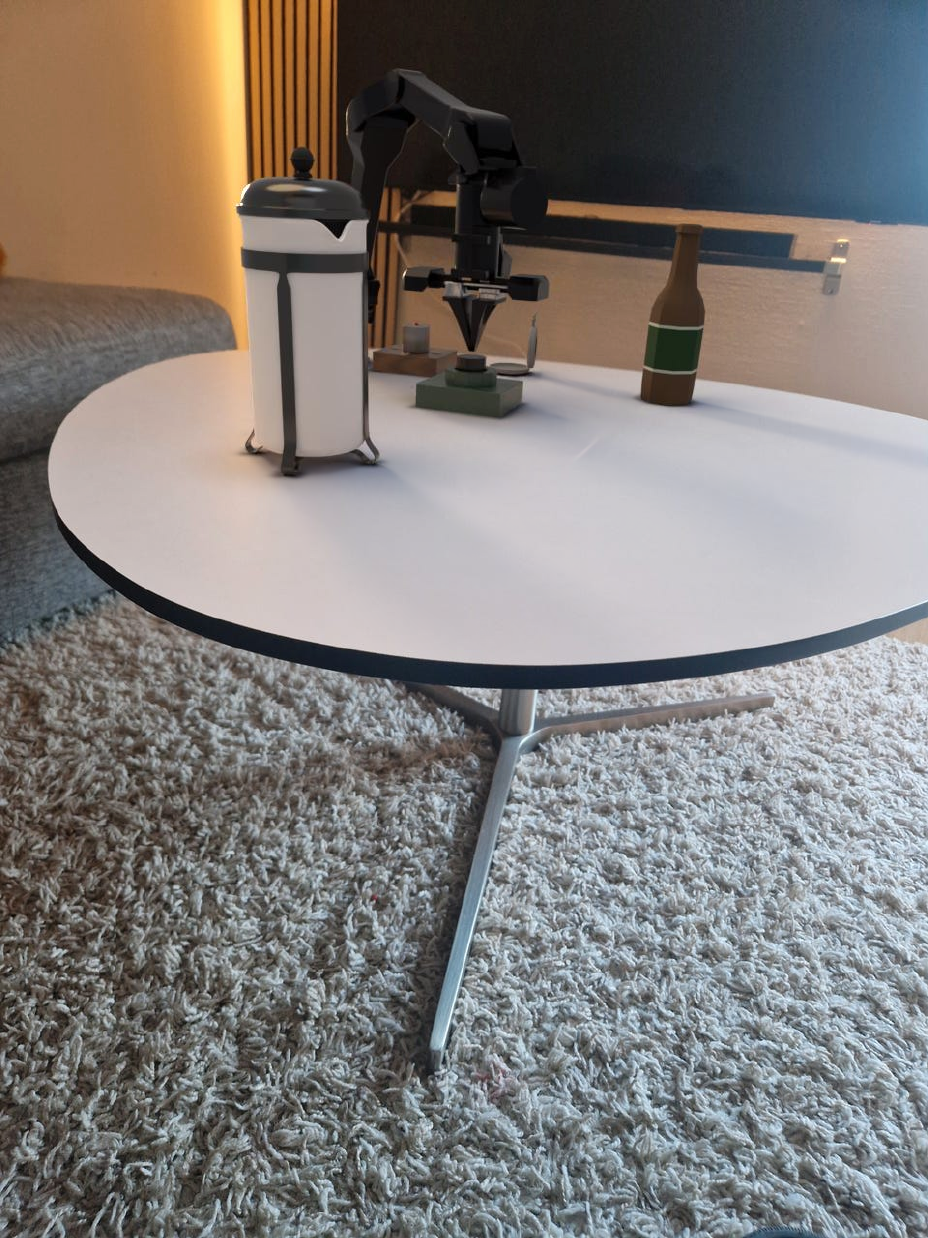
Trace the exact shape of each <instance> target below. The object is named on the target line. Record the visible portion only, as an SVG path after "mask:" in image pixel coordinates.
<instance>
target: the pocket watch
mask: <svg viewBox="0 0 928 1238" xmlns="http://www.w3.org/2000/svg"><path fill="white" fill-rule="evenodd" d="M537 315H538V310H535V313H534V315H532V316H531V317H532V318H531V327H530V328H529V331H528V335H527V336H528V338H527V348H526V364H522V363H516V362H493V363H490V364H489V365H488V366H489V367H492V368H495V369H496V370H497V374H503V375H510V376H511V375H518V376H519V375H524V374H527V373H529V371H530V369H534V367H535V364H536V359H537V358H536V357H537V348H538V326H536V321H537V318H536V317H537Z"/></svg>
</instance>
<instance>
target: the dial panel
mask: <svg viewBox="0 0 928 1238" xmlns="http://www.w3.org/2000/svg"><path fill="white" fill-rule="evenodd" d="M457 355H458V350H454V349H444V348H435V347H430V351H429V352H427V353H409V352H404V351H403V350H402V344H398V343H397V344H394V345H393V344H392V345H390V346H387V347H384V348H380V349H378V350H374V351H372V371H373V372H379V373H380V372H381V373H390V374H399V375H408V376H415V377H417V376H418V377H426V378H431V377H433V376H436V375H438V374H440V373H443V372H445V367H447V366H450V365H457Z"/></svg>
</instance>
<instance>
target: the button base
mask: <svg viewBox="0 0 928 1238" xmlns="http://www.w3.org/2000/svg"><path fill="white" fill-rule="evenodd" d="M456 369H457V365H450V366H447V367H445V372H443V373H440V374H438V375H436V376H433V377H427V378H426V379H424V380H421V381H419V382H416V383H415V408H421V409H428V410H436V411H444V412H450V413H460V414H465V415H466V414H468V415H474V416H483V417H490V418H496V419H497V418H501V417H503V416H504V415H505V414H507V413H509V412H510V411H512V410H513V409H515V408H517V407H519V406H520V405H522V404H523V403H522V401H523V390H524V389H523V387H524V380H519V379H518V380H517V379H509V378H500V377H498V373H497V370H496V369H495V368H492V367H489V365H486V371H484V372H465V371H459V370H456Z"/></svg>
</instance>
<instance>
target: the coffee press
mask: <svg viewBox="0 0 928 1238" xmlns="http://www.w3.org/2000/svg"><path fill="white" fill-rule="evenodd" d="M314 157H315V156H314V154H313V153H312V151H311V150H310V149H309V148H307V147H305V146H298V147H296V148H294V150H293V151H292V152H291V154H290V157H289V160H290V162H291V166H292V167H293V169H294V170H295V172H294V173H293V174H292V176H269V177H268V176H267V177H261V178H258V179H255V180H253V181H251V182H250V183H248V184H247V185H246V187H244V189H243V191H242V194H241V197H240V202H239V203H238V204H236V205H235V208H236V209H235V211H236V214H237V216H238V218H239V220H240V225H241V238H242V240H241V241H242V246H240V261H241V267H242V268H243V271H244V272H243V273H244V289H245V291H244V292H245V305H246V321H247V323H246V324H247V336H248V337H247V338H248V353H249V354H248V355H249V356H248V357H249V371H250V387H251V401H252V402H251V403H252V416H253V417H252V418H253V429H252V431H251V433H250V435H249V437H248V438H247V440H246V441H245V443H244V447H245V450H246V451H247V452H248V453H249V454H256V453H258V452H259V451H261V450H262V449H263V448H264V449H266V450H268V451H270V452H273V453H276V454H279V455H282V457H281V462H280V472H281V474H283V475H290V476H296V475H297V474H298V472H299V469H300V464H301V461H302V460H303V458H317V457H318V458H321V457H322V458H323V457H332V456H337V455H339V456H340V455H343V454H348V453H349V454H354V455H356V456H357V457H358V458H359V459H360V460H362V461H363V463H365V464H366V465H369V466H370V465H371V466H372V465H374V464H375V463H376V462H377V461H378V460H379V459H380V456H381V455H380V451H379V450H378V448H377V447H376V445H375V444H374V442H373V440H372V438H371V435H370V412H369V411H370V410H369V409H370V408H369V407H370V405H369V404H370V403H369V401H370V400H369V399H370V398H369V397H370V395H369V392H370V391H369V389H370V388H369V361H368V357H369V324H368V280H367V272H368V270H369V251H366V226H367V223H368V222H369V219H370V210H367V209H366V206H365V202H364V199H363V196H362V195H361V193H360V192H359V191H358V190H357V189H356V188H355V187H353V186H351V183H347V182H344V181H342V180H337V179H328V178H316V177H313V174H312V173H310V171H311V170H312V169H313V167H314V164H315V162H316V159H315V158H314ZM254 437H255V439H256V441H257V443H259V445H260V446H259V448H255V447H253V444H252V440H253V439H254ZM364 443H366V445H367V447H368V448H369V450H370V451H371V452H372V454H373V456H374V460H373V459H370V458H369V456H367V455H366V454H365V453H364V451H362V450H360V449H358V448H360V447H361V446H362V445H363V444H364Z"/></svg>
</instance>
